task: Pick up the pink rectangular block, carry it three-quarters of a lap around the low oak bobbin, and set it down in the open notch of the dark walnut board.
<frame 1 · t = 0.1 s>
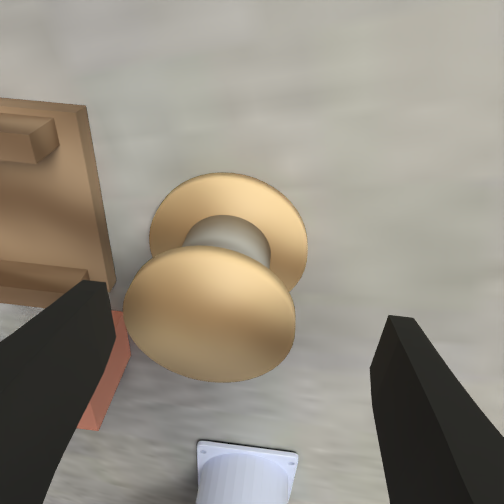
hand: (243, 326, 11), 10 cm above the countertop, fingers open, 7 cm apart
pink rectangular block: (103, 331, 27), on the countertop
notch board: (17, 196, 21), on the countertop
bobbin: (229, 243, 22), on the countertop
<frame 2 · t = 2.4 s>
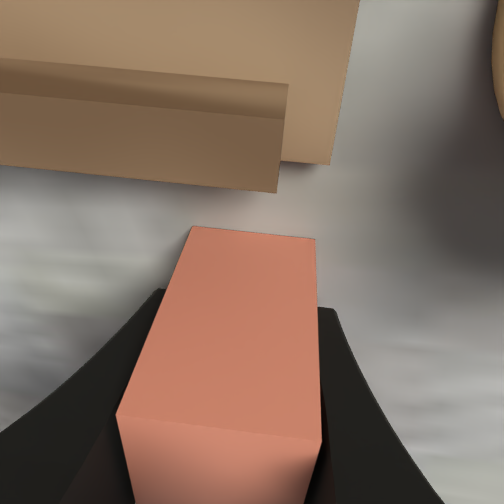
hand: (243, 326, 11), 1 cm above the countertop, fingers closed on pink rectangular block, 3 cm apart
pink rectangular block: (248, 290, 12), on the countertop, touching gripper
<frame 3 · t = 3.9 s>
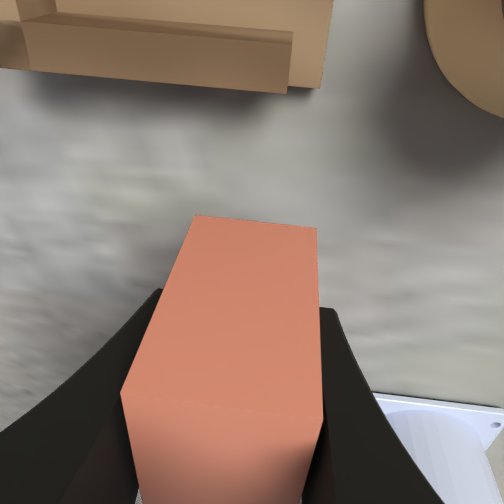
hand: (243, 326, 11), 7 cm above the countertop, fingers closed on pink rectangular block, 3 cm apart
pink rectangular block: (250, 279, 12), point 5 cm above the countertop, touching gripper
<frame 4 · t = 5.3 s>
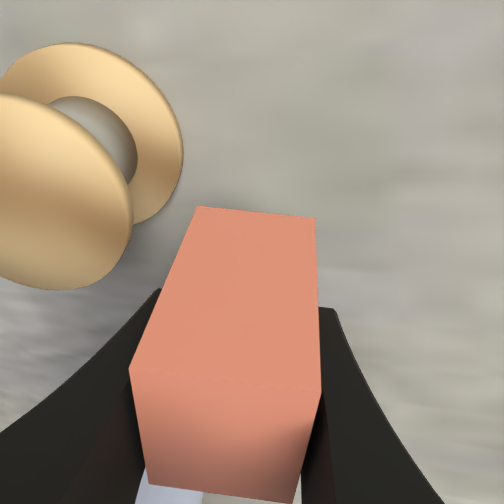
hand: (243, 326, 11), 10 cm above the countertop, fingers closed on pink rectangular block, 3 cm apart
pink rectangular block: (251, 269, 12), point 7 cm above the countertop, touching gripper
bobbin: (94, 141, 19), on the countertop
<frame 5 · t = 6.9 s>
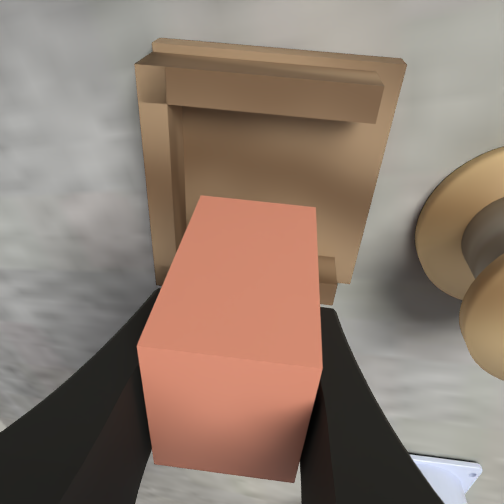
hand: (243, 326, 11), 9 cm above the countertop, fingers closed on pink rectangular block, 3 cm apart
pink rectangular block: (253, 258, 13), point 7 cm above the countertop, touching gripper
notch board: (267, 171, 18), on the countertop
when the fingers open (4 cm above the countertop, at t = 8.2 s): pink rectangular block stays where it is, resting on notch board.
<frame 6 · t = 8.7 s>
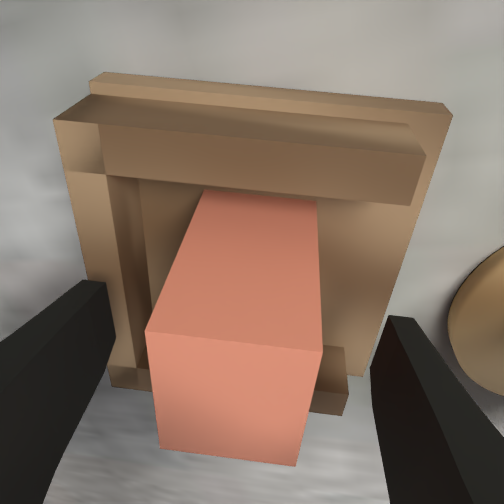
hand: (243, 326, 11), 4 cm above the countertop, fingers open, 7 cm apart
pink rectangular block: (255, 251, 13), point 1 cm above the countertop, touching notch board
notch board: (257, 241, 14), on the countertop
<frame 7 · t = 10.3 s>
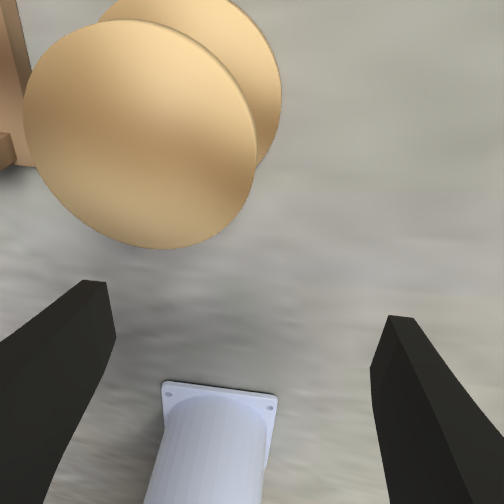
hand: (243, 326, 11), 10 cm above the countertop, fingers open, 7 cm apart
bobbin: (185, 97, 17), on the countertop
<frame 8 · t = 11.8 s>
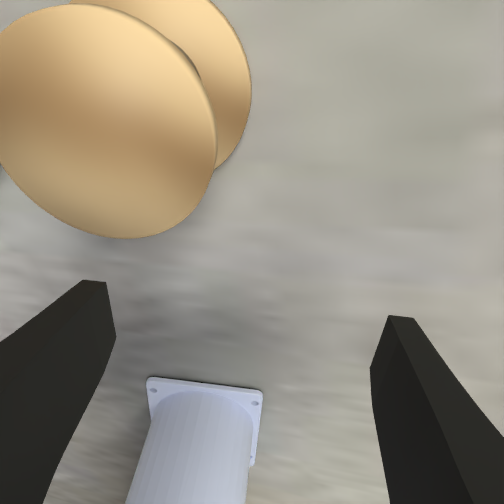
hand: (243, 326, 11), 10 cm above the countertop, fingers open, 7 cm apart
bobbin: (155, 87, 17), on the countertop
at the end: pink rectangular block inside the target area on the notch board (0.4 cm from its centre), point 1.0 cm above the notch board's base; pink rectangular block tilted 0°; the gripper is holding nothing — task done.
